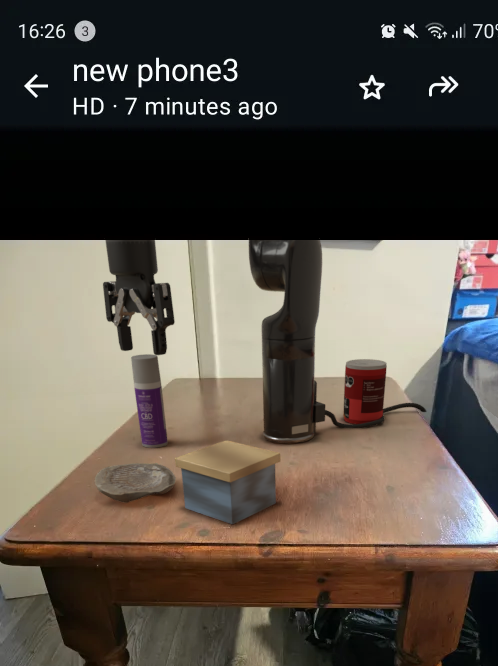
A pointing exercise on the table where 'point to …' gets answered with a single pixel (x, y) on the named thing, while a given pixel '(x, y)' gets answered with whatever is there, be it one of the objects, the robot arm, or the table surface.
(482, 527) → the table surface
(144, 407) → the container
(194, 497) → the board box
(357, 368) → the canned food
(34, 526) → the table surface
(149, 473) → the fossil
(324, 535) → the table surface
